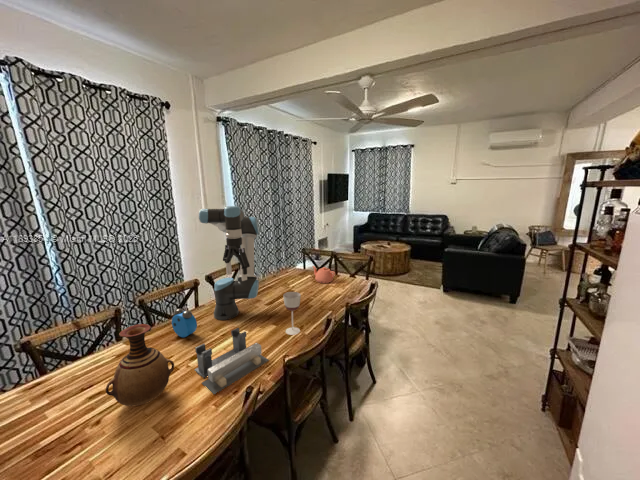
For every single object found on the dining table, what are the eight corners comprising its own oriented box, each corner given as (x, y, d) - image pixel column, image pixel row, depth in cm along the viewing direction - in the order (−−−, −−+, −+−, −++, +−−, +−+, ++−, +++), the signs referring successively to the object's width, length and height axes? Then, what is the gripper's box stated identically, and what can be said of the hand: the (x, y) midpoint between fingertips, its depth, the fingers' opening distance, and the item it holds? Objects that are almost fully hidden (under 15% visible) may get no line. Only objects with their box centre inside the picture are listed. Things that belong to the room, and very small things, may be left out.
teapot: (308, 281, 234) (307, 267, 231) (316, 276, 246) (316, 263, 244) (330, 286, 223) (331, 271, 220) (338, 280, 236) (339, 266, 233)
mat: (201, 383, 115) (201, 382, 115) (255, 352, 136) (255, 351, 136) (214, 395, 109) (214, 394, 109) (268, 360, 130) (268, 359, 130)
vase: (105, 427, 94) (90, 350, 88) (119, 391, 111) (107, 323, 105) (174, 407, 103) (165, 335, 97) (178, 376, 119) (170, 313, 113)
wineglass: (298, 336, 151) (298, 298, 146) (282, 334, 153) (281, 297, 148) (302, 327, 159) (302, 292, 155) (287, 326, 161) (286, 291, 156)
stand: (194, 370, 123) (192, 348, 120) (240, 346, 141) (239, 326, 139) (203, 378, 118) (201, 355, 115) (249, 352, 136) (248, 331, 134)
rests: (211, 378, 117) (210, 373, 117) (250, 356, 133) (250, 351, 132) (221, 387, 112) (220, 382, 112) (261, 362, 128) (260, 357, 127)
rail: (212, 382, 111) (211, 373, 110) (208, 378, 114) (207, 369, 113) (261, 353, 130) (261, 345, 129) (256, 350, 132) (256, 342, 132)
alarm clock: (198, 334, 152) (195, 310, 149) (189, 340, 146) (186, 314, 143) (181, 329, 157) (179, 305, 154) (172, 335, 152) (169, 310, 149)
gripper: (214, 235, 142) (217, 274, 147) (242, 241, 127) (245, 284, 131) (226, 233, 148) (229, 270, 152) (255, 239, 133) (257, 280, 137)
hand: (236, 277), depth 142 cm, fingers open, 13 cm apart
